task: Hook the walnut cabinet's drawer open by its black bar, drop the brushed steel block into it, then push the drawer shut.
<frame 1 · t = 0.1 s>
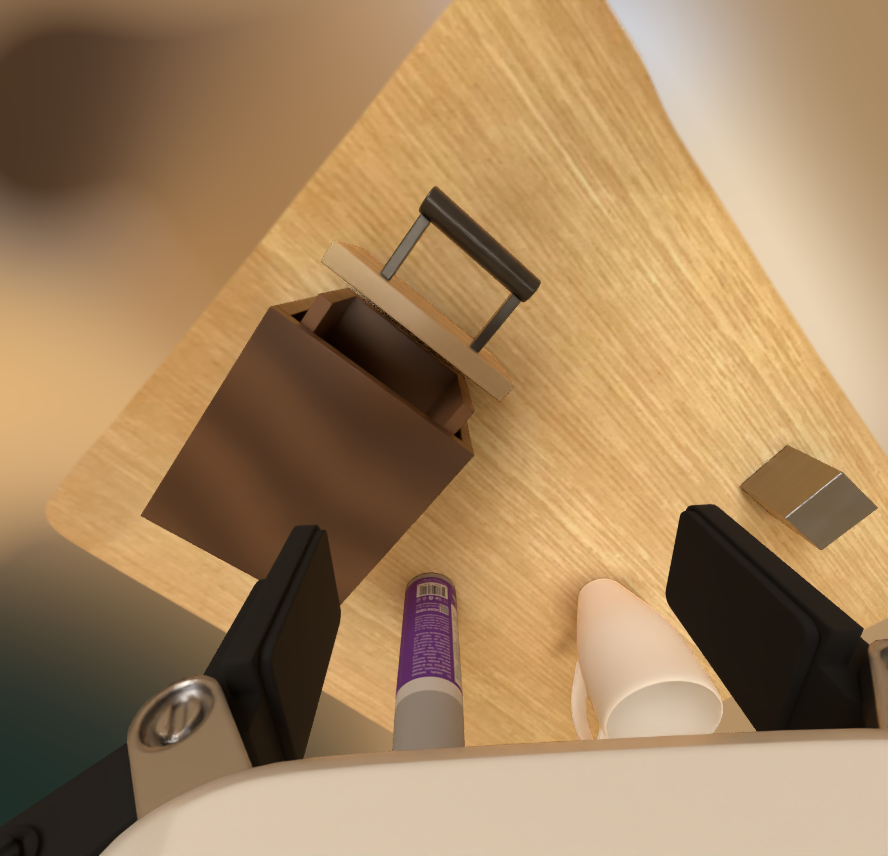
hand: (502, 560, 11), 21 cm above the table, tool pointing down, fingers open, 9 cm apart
cabinet: (340, 425, 32), on the table
mug: (588, 608, 39), on the table
container: (430, 591, 38), on the table
drawer: (388, 366, 25), point 5 cm above the table, slide at 3.0 cm
block: (779, 481, 34), on the table
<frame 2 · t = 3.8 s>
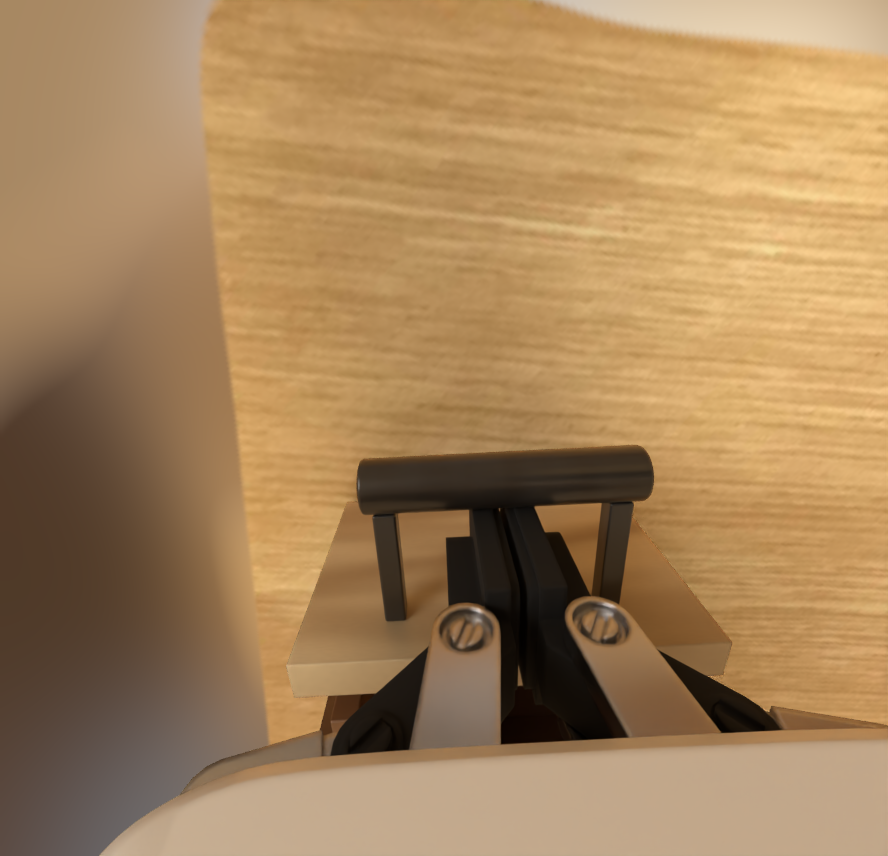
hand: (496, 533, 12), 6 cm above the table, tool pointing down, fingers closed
cabinet: (480, 686, 23), on the table
drawer: (490, 645, 16), point 5 cm above the table, slide at 4.6 cm, touching gripper
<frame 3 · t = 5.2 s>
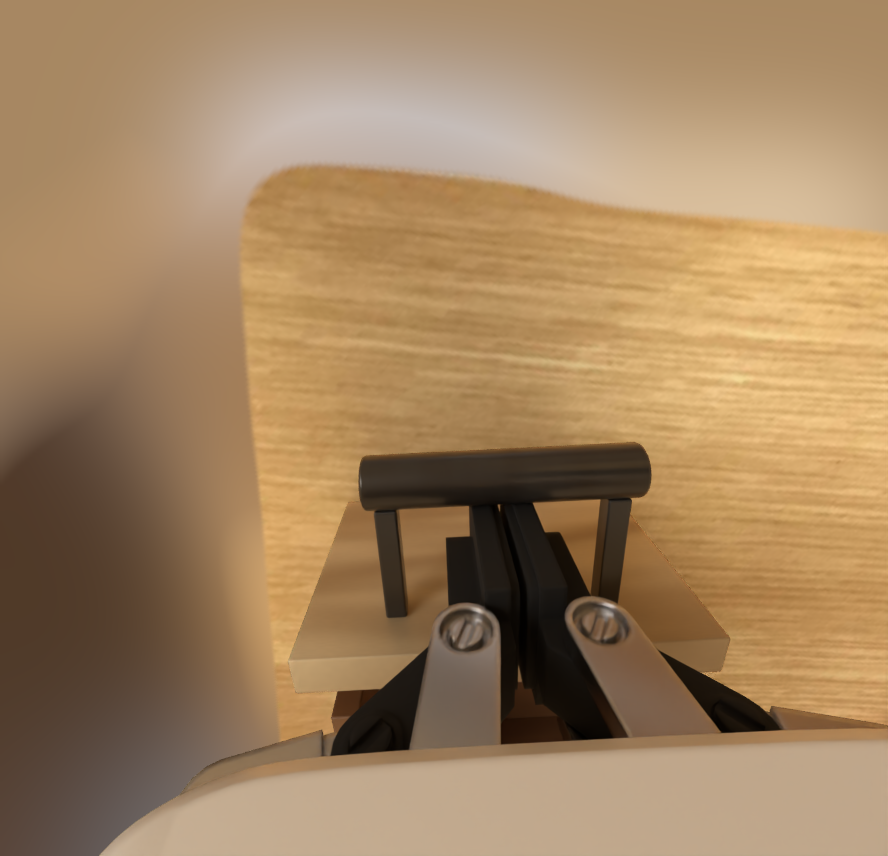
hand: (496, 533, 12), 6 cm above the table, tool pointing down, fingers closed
drawer: (490, 645, 16), point 5 cm above the table, slide at 9.5 cm, touching gripper
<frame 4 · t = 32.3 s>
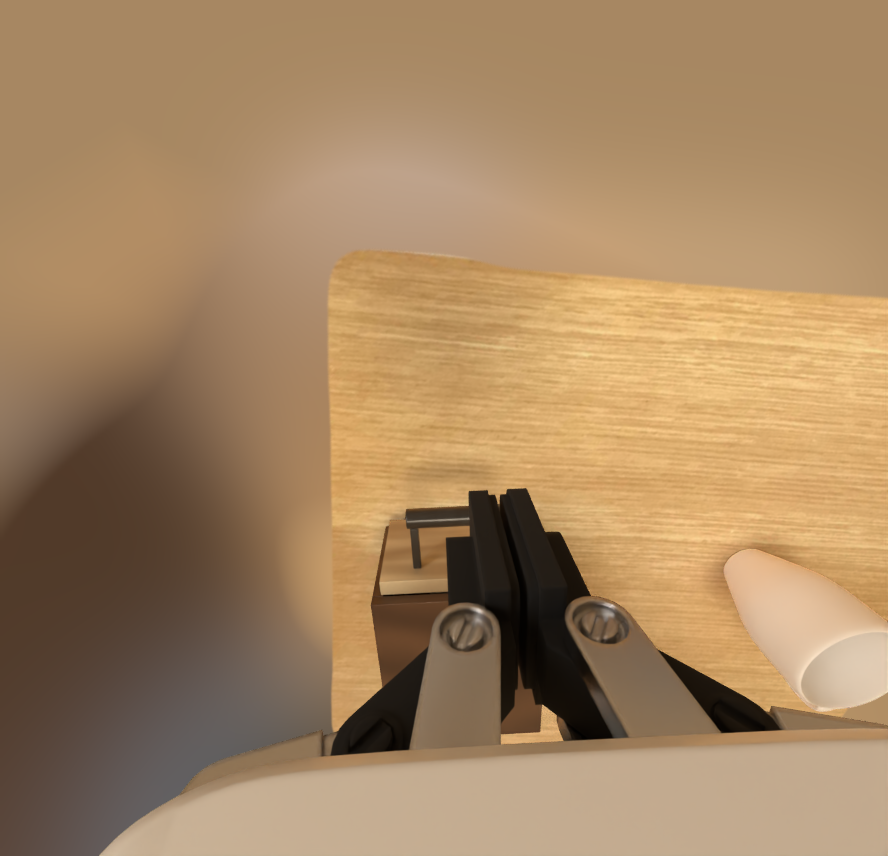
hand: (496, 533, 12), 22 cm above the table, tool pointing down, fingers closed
cabinet: (456, 584, 40), on the table
mug: (743, 578, 41), on the table
drawer: (457, 586, 34), point 5 cm above the table, slide at 0.0 cm, touching block
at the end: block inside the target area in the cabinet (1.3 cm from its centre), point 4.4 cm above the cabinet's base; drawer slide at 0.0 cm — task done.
